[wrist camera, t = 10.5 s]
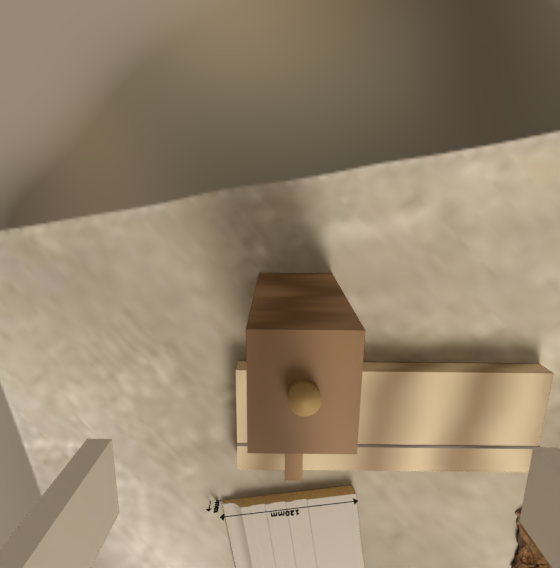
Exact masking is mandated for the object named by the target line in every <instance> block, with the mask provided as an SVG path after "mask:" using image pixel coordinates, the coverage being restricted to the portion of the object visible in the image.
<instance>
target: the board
mask: <svg viewBox="0 0 560 568" xmlns="http://www.w3.org/2000/svg"><path fill="white" fill-rule="evenodd" d="M553 374H554V373H552V372H551V371H549V370H548V369H547V368H545V367H544V366H542V365H541V364H498V363H399V362H363V372H362V387H361V402H360V417H359V432H358V447H357V454H303V467H302V470H364V471H466V472H529V467H530V462H531V456H532V451H533V447H540V441H541V436H542V431H543V426H544V420H545V415H546V410H547V405H548V400H549V395H550V390H551V385H552V380H553ZM236 412H237V466H238V469H261V470H285V454H269V453H247V376H246V361H238V363H237V367H236Z"/></svg>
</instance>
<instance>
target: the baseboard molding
mask: <svg viewBox="0 0 560 568" xmlns="http://www.w3.org/2000/svg"><path fill="white" fill-rule="evenodd" d="M218 501H219V500H217V501H216V502H215V503H218V504H215V505H217V506H215V507H214V513H216V512H218V508H219V507H218V506H219V502H218ZM220 501H221V500H220ZM210 503H211V501H210ZM222 504H223V509H224V514H225V516H224V514H223V515H222V516H221V517H220V518H221V519H222V520H224V517H225V518H226V523H227V528H228V533H229V537H230V542H231V547H232V552H233V557H234V561H235V566H236V568H364V565H363V556H362V547H361V538H360V529H359V520H358V511H357V500H356V493H355V490H354V487H353V486H352V485H350V486H342V487H333V488H325V489H316V490H307V491H299V492H290V493H282V494H273V495H264V496H256V497H247V498H239V499H230V500H223V503H222ZM209 508H210V505H209ZM211 509H212V508H211ZM211 509H206V510H207V511H210V510H211ZM216 510H217V511H216Z"/></svg>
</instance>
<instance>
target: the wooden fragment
mask: <svg viewBox="0 0 560 568" xmlns="http://www.w3.org/2000/svg"><path fill="white" fill-rule="evenodd" d="M521 510H522V509H520V510H518V511H517V512H516V514H517V515H518V520H517V524H518V529H519V532H518V536H517V542H518V545H519V550H518V553H517V554H515V561H514V562H513V564H512V567H511V568H552V567H551V566H550V564H549V563H548V561H547V560H546V558H545V557H544V556H543V554H542V553H541V551H540V550H539V548H538V547H537V546H536V544H535V543H534V541H533V540H532V538H531V537H530V535H529V534H528V533H527V531H526V530H525V528H524V527H523V525H522V524H521V523H520V515H521Z"/></svg>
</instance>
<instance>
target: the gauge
mask: <svg viewBox="0 0 560 568" xmlns="http://www.w3.org/2000/svg"><path fill="white" fill-rule="evenodd" d="M364 342H365V329H364V328H363V326H362V324H361V322H360V321H359V319H358V317H357V315H356V314H355V312H354V310H353V309H352V307H351V305H350V303H349V302H348V300H347V298H346V297H345V295H344V293H343V291H342V290H341V288H340V286H339V285H338V283H337V281H336V279H335V278H334V276H333V274H332V273H259V277H258V281H257V285H256V289H255V293H254V298H253V302H252V306H251V310H250V315H249V319H248V323H247V327H246V376H247V453H269V454H285V480H302V467H303V454H357V447H358V432H359V417H360V402H361V387H362V372H363V357H364Z"/></svg>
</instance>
